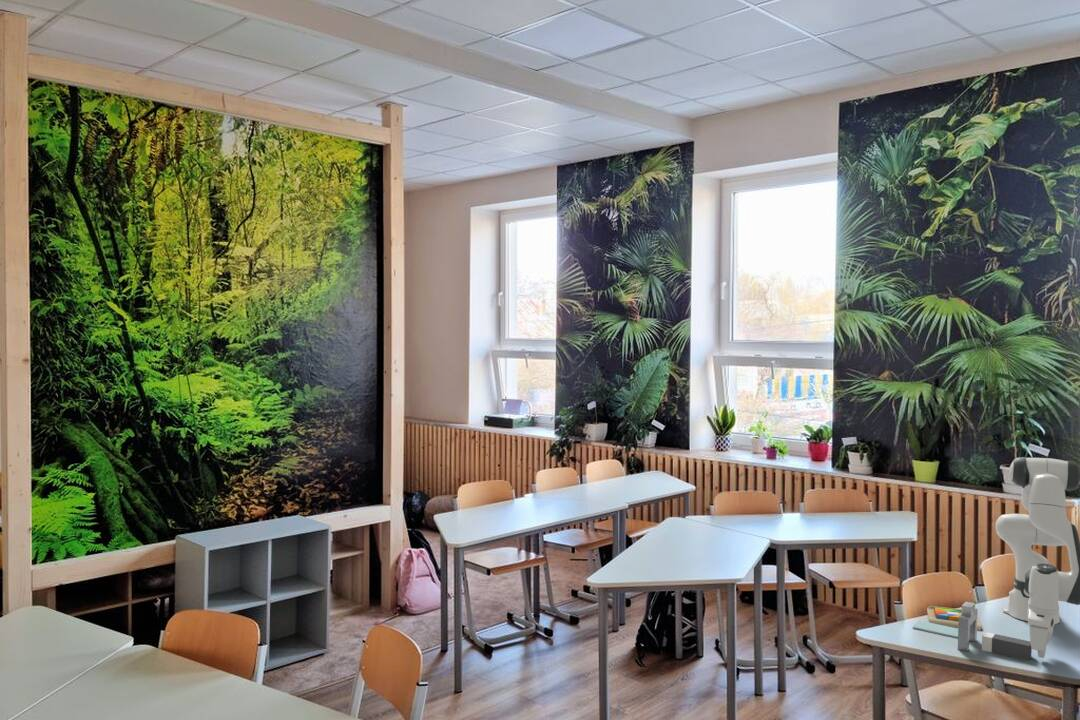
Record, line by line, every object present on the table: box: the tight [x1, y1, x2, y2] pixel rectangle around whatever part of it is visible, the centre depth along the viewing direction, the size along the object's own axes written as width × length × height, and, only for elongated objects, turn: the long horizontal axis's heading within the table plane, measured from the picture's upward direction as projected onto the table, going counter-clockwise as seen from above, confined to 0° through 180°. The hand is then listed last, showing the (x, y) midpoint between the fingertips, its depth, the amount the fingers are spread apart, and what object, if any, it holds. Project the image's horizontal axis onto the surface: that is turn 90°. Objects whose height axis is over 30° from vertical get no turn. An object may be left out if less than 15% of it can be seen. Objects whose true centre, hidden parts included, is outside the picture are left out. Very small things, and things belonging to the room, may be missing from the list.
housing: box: [957, 601, 978, 652], centre depth 292 cm, size 14×3×14 cm, turn 141°
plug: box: [981, 631, 1033, 662], centre depth 285 cm, size 5×14×5 cm, turn 51°
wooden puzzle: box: [926, 605, 983, 632], centre depth 318 cm, size 18×19×4 cm
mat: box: [912, 620, 958, 639], centre depth 306 cm, size 9×18×1 cm, turn 51°
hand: (1041, 656), depth 278 cm, fingers closed
